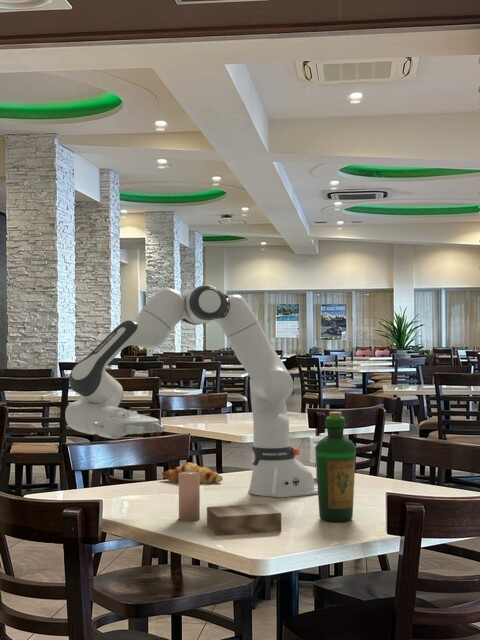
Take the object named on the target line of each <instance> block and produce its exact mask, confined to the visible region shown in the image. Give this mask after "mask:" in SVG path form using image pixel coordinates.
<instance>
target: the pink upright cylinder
mask: <svg viewBox="0 0 480 640" xmlns="http://www.w3.org/2000/svg"><path fill="white" fill-rule="evenodd" d="M200 487H201V484H200V473H199V472H181V473H179V483H178V521H181V522H195V521H196V522H197V521H200V518H201V516H200V514H201V513H200V506H201V505H200V504H201V503H200V500H201V498H200V495H201V494H200V493H201V489H200Z"/></svg>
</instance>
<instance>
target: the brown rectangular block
mask: <svg viewBox="0 0 480 640" xmlns="http://www.w3.org/2000/svg"><path fill="white" fill-rule="evenodd" d="M206 526H208V527H209V529H211V531H213V532H214V533H215V535H217V536H231V535H232V536H235V535H245V534H246V535H248V534H249V535H250V534H259V533H261V534H263V533H277V532H282V512H280V511H279V510H278V509H276V508H274V507H273V506H271V505H270V504H268V503H258V504H257V503H256V504H252V503H251V504H240V505H237V504H236V505H221V506H220V505H219V506H218V505H217V506H207V507H206Z"/></svg>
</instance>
